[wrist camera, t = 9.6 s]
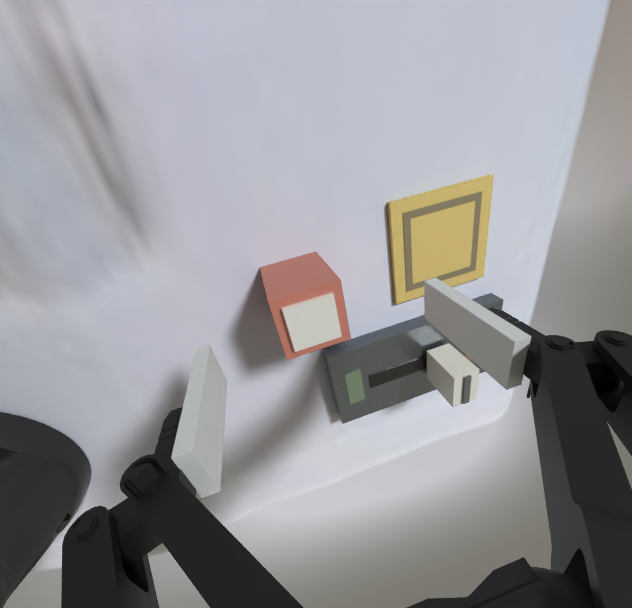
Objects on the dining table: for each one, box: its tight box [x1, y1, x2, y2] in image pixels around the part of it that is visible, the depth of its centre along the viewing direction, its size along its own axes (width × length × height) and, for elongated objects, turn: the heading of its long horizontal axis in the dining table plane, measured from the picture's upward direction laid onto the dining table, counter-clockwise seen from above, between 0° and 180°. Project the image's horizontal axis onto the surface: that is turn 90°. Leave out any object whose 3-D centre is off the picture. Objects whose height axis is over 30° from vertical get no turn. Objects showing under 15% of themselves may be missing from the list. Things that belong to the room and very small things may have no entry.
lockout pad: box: [388, 175, 494, 304], centre depth 25 cm, size 9×9×1 cm
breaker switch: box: [427, 343, 479, 407], centre depth 27 cm, size 2×4×4 cm, turn 12°
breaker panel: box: [323, 293, 503, 424], centre depth 29 cm, size 18×9×2 cm, turn 102°
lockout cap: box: [260, 252, 351, 360], centre depth 20 cm, size 4×4×6 cm
